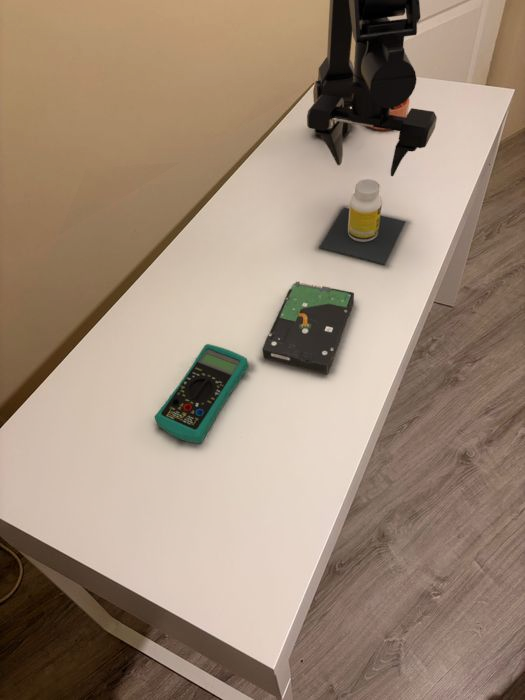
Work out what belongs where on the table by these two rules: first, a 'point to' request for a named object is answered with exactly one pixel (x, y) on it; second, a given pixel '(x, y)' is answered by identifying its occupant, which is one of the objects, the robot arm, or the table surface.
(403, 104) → the dish
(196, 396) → the digital multimeter
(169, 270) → the table surface
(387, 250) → the mat
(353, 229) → the supplement bottle
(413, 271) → the table surface
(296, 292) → the disk drive
